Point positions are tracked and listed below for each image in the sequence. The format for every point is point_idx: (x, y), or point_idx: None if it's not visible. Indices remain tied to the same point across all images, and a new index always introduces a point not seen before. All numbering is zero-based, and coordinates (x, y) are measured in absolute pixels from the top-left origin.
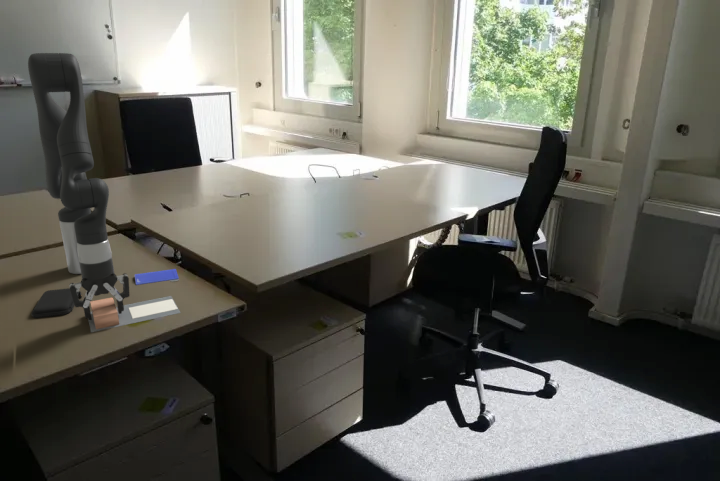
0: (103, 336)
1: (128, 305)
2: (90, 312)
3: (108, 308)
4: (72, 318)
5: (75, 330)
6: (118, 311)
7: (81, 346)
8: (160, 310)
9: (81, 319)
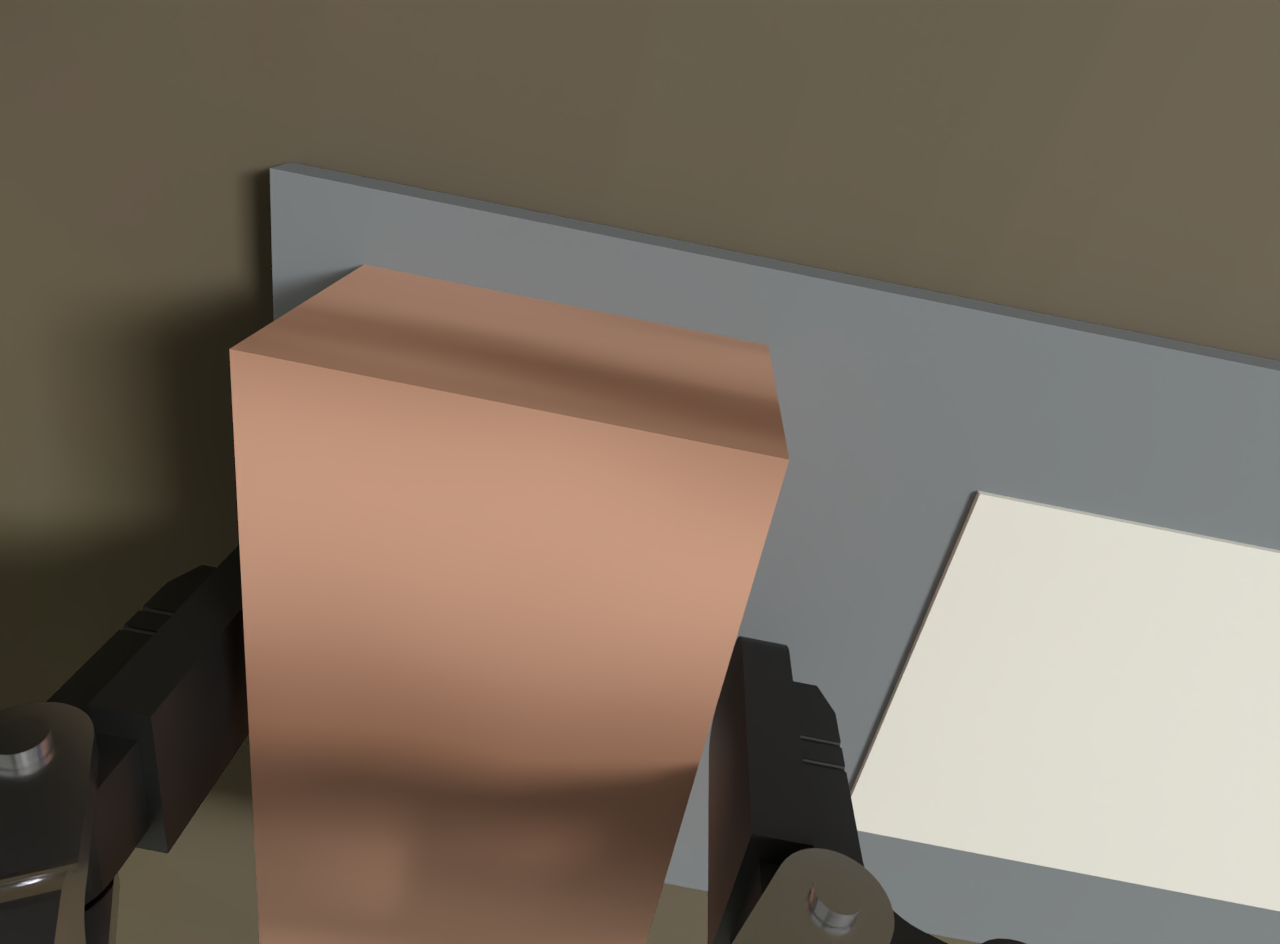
0: None
1: (1038, 381)
2: (227, 760)
3: (529, 875)
4: (34, 138)
5: (113, 584)
6: (718, 730)
7: (189, 918)
8: (1265, 856)
9: (190, 292)
